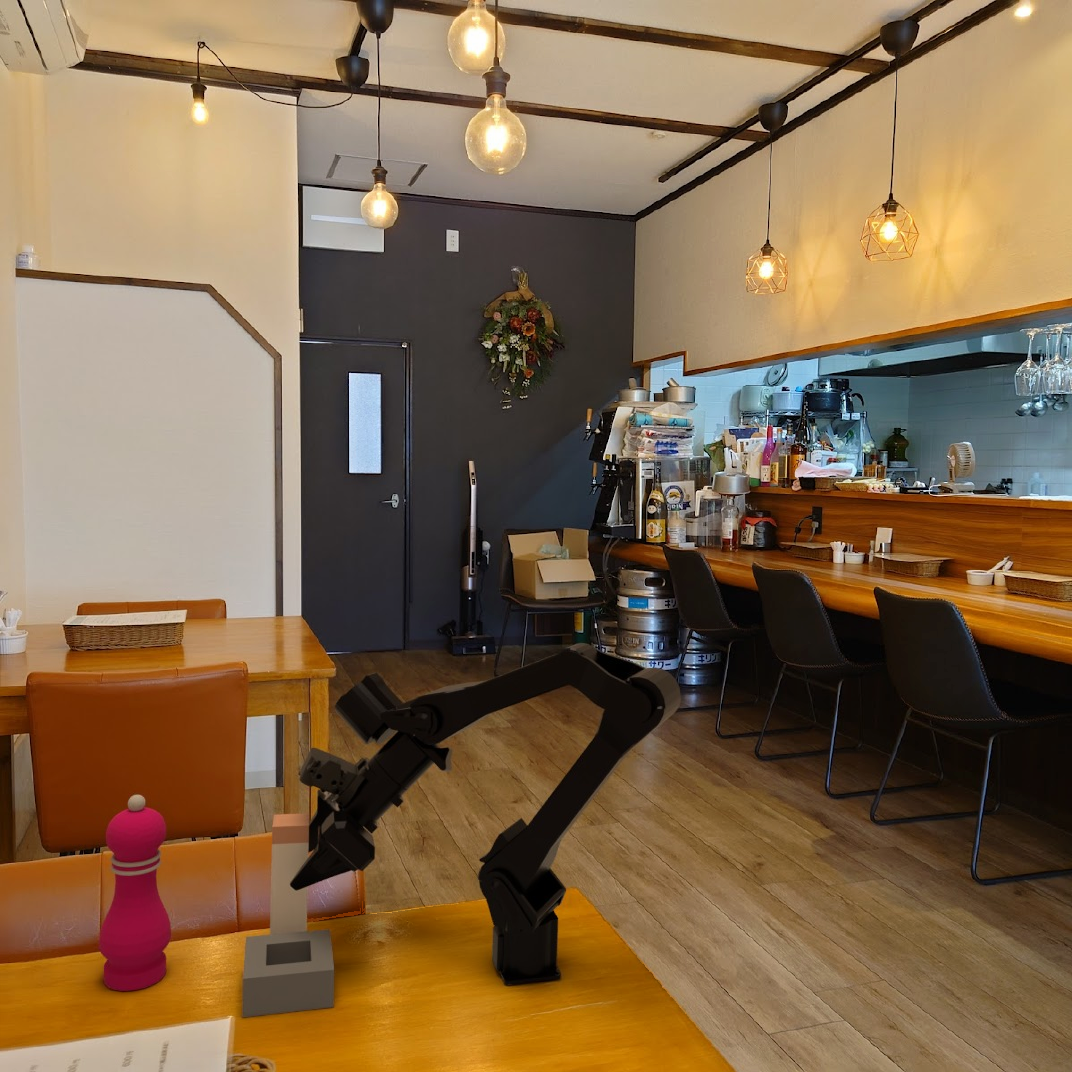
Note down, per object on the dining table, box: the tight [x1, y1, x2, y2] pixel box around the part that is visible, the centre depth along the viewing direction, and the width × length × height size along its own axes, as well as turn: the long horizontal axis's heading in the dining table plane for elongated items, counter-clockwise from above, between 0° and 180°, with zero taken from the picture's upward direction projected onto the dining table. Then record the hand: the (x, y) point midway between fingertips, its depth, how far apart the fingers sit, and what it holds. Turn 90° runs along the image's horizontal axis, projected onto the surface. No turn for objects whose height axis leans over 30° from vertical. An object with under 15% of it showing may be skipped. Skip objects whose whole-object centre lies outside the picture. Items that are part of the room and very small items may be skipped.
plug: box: [269, 812, 310, 935], centre depth 110 cm, size 4×4×15 cm
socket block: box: [241, 928, 335, 1018], centre depth 101 cm, size 9×9×4 cm
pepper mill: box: [98, 794, 172, 992], centre depth 102 cm, size 7×7×20 cm
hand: (293, 870), depth 110 cm, fingers open, 9 cm apart
